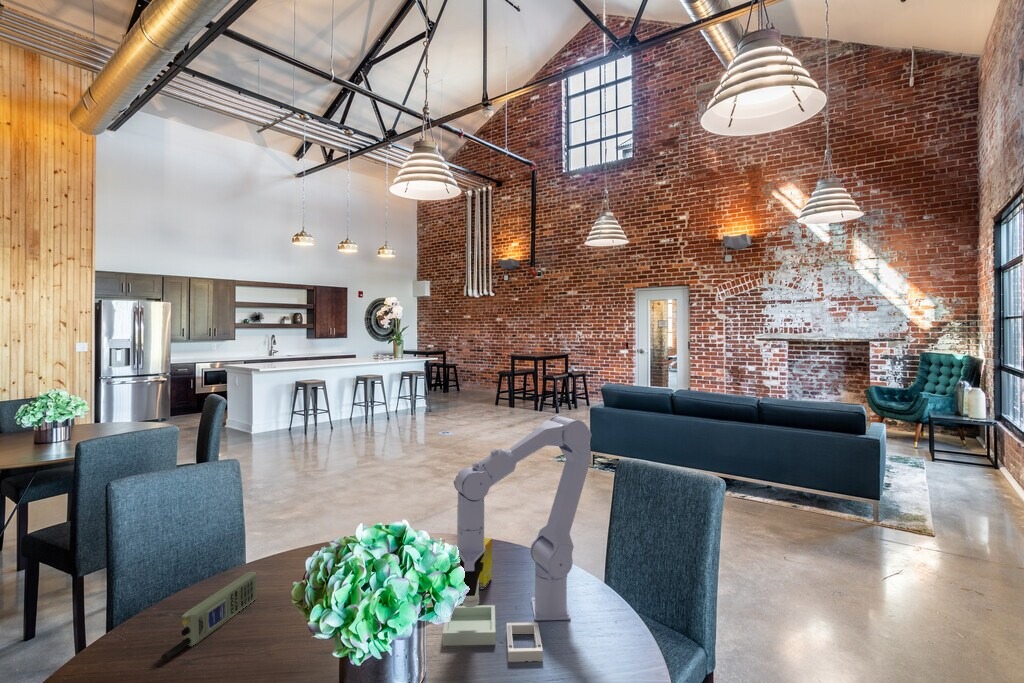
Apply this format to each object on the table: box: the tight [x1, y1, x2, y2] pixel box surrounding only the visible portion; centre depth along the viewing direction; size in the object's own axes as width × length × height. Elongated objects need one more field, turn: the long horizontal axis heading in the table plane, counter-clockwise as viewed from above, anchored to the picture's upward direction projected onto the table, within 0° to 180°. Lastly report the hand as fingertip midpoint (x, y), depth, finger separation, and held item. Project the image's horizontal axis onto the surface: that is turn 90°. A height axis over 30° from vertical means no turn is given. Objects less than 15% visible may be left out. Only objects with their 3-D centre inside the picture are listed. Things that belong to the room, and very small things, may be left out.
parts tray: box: [442, 604, 496, 647], centre depth 107 cm, size 11×11×2 cm
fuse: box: [461, 578, 480, 607], centre depth 108 cm, size 4×4×7 cm
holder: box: [506, 621, 544, 663], centre depth 102 cm, size 10×7×2 cm, turn 3°
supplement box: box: [479, 537, 493, 589], centre depth 129 cm, size 6×6×11 cm
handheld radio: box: [161, 571, 258, 662], centre depth 108 cm, size 7×3×25 cm
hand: (470, 590), depth 108 cm, fingers closed on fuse, 3 cm apart
